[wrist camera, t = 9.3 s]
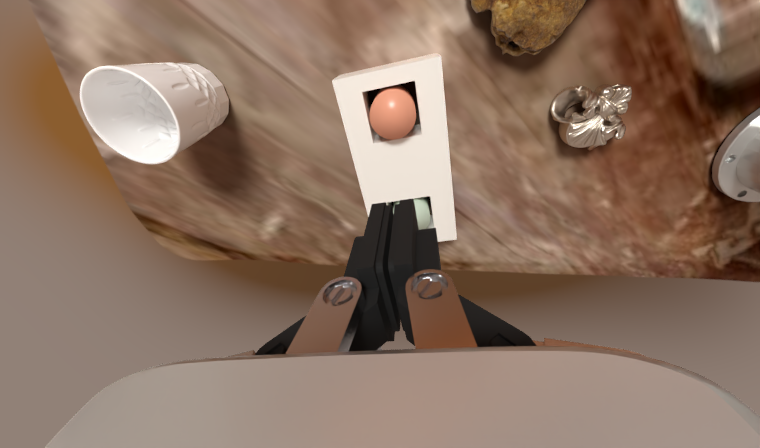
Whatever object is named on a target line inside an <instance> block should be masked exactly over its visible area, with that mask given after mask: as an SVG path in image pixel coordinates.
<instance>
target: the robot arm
mask: <svg viewBox="0 0 760 448" xmlns="http://www.w3.org/2000/svg"><path fill="white" fill-rule="evenodd" d="M712 179H713V181H714V184H715V186H716V187H717V188H718V190H719V191H721V192H722V193H724V194H725V195H727V196H729V197H731V198H733V199H735V200H739V201H744V202H760V108H759V109H757V110H756V111H755V112H753V113H752V114H751V115H749V116H748V117H747V118H746V119H744V120H743V121H742V122H741V123H740V124H739V125H738V126H737V127H736V128H735V129H734V130H733V131H732V132H731V133H730V135H729V136H728V137H727V138H726V139H725V141H724V142H723V144H722V145H721V147H720V148H719V150H718V153H717V155H716V157H715V159H714V163H713V167H712ZM400 319H401V323H402V327H403V330H404V331H405V334H406V338H407V340H408V341H410V342H411V343H412V344H413V345H414V346H415V349H404V350H382V349H381V346H382V345H383V344H384V343H385V342H387V341H394V334H395V331H399V330H400ZM45 448H760V416H759V415H758V414H757V413H755V412H754V411H753V410H752V409H751V408H750V407H748V406H747V405H746V404H745V403H743V402H742V401H741V400H740V399H738V398H737V397H736V396H734V395H733V394H732V393H730V392H729V391H727V390H726V389H724V388H722V387H721V386H720V385H718V384H716V383H715V382H713V381H711V380H709V379H707V378H705V377H703V376H701V375H699V374H697V373H694V372H692V371H689V370H686V369H684V368H682V367H679V366H676V365H673V364H670V363H666V362H664V361H660V360H656V359H652V358H648V357H646V356H644V355H642V354H640V353H637V352H634V351H630V350H626V349H619V348H611V347H605V346H598V345H591V344H584V343H577V342H570V341H563V340H556V339H550V338H544V342H542V341H535V340H532V339H531V338H530V337H529V336H527V335H526V334H525V333H523V332H522V331H520V330H519V329H517V328H515V327H513V326H512V325H510V324H508V323H507V322H505V321H503V320H501V319H500V318H498V317H496V316H494V315H493V314H491V313H489V312H488V311H486V310H484V309H483V308H481V307H479V306H477V305H476V304H474V303H472V302H471V301H469V300H467V299H465V298H464V297H462V296H460V295H458V294H457V291H456V288H455V286H454V283H453V281H452V279H451V277H450V276H449V275H448V274H446V273H445V272H442V271H441V265H440V256H439V248H438V240H437V232H436V228H429V229H421V230H419V228H418V222H417V216H416V210H415V204H414V199H405V200H400V201H399V204H395V207H394V214H393V210H392V206H391V205H387V204H386V202H383V203H376V204H372V206H371V210H370V214H369V217H368V221H367V225H366V229H365V233H364V236H359V237H356V238H355V240H354V243H353V247H352V250H351V254H350V257H349V260H348V264H347V267H346V271H345V274H344V277H340V278H337V279H334V280H332V281H330V282H328V283H327V284H326V285H325V286H323V288H322V289H321V291H320V292H319V294H318V296H317V298H316V299H315V301H314V303H313V305H312V307H311V308H310V310H309V312H308V314H307V315H306V316H305V317H303V318H302V319H300V320H299V321H298V322H296V323H295V324H293V325H292V326H290V327H289V328H288V329H286V330H285V331H283V332H282V333H280V334H279V335H278V336H276V337H275V338H273V339H272V340H270V341H269V342H267V343H266V344H265V345H264V346H262V347H261V348H260V349H259V350H258V351H257V353H255V351H254V350H251V351H247V352H243V353H240V354H235V355H232V356H228V357H219V358H205V359H194V360H184V361H179V362H172V363H167V364H162V365H159V366H155V367H151V368H148V369H145V370H142V371H140V372H137V373H135V374H132V375H129V376H127V377H125V378H122V379H120V380H118V381H116V382H115V383H113V384H111V385H109V386H107V387H106V388H105V389H103V390H102V391H100V392H99V393H98V394H96V395H95V396H94V397H93V398H92V399H91V400H90V401H89V402H88V403H87V404H86V405H85V406H84V407H83V408H82V409H80V411H78V412H77V413H76V415H74V417H72V418H71V419H70V421H69V422H68V423H67V424H66V425H65V426H64V427H63V428H62V429H61V430H60V431H59V432H58V433H57V434H56V435H55V437H54V438H53V439H52V440H51V441H50V442H49V443H48V444H47V445H46V447H45Z"/></svg>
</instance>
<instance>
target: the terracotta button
mask: <svg viewBox="0 0 760 448" xmlns="http://www.w3.org/2000/svg"><path fill="white" fill-rule="evenodd" d="M369 116H370V123H371V125H372V127H373V129H374V131H375V132H376V133H377V134H378V135H380V136H381V137H383V138H386V139H391V140H394V139H400V138H402V137H404V136H406V135H407V134H408V133H409V132H410V131H411V130H412V128H413V126H414V124H415V121H416V109H415V103H414V99H413V96H412V94H411V93H410V92H409V91H408V90H407V89H406V88H405V87H403V86H400V85H393V86H388V87H384V88H382V89H381V90H380V91H379V92H378V93H377V94H376V96H375V98H374V101H373V103H372V106H371V108H370V114H369Z"/></svg>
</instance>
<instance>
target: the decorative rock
mask: <svg viewBox="0 0 760 448" xmlns="http://www.w3.org/2000/svg"><path fill="white" fill-rule="evenodd" d="M585 1H586V0H471V6H472V8H473V9H474V11H475V12H476V13H478V12H485V11H487V10H491V13H492V21H491V33H492V34H493V35H494V36H495V39H496V45H497V46H499V47H500V48H501V49H502V55H503V54H505V53H508V54H510V55H513V56H520V55H522V54H524V53H525V52H526V53H529V54H532V55H536V54H538V53H540V52H541V51H542V50H543V49H544V48H545V47H547V46H549V45H550V44H552V43H553V42H554V41H555V40H556V39H557V38H559V37H560V36H561V35H562V33H563V31H564V29H565V28H566V27H567V25H569V24H571V22H572V21H573V19H574V18H575V17H576V15H577V14H578V13H579V11H580V10H581V8H582V7H583V5H584V3H585Z"/></svg>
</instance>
